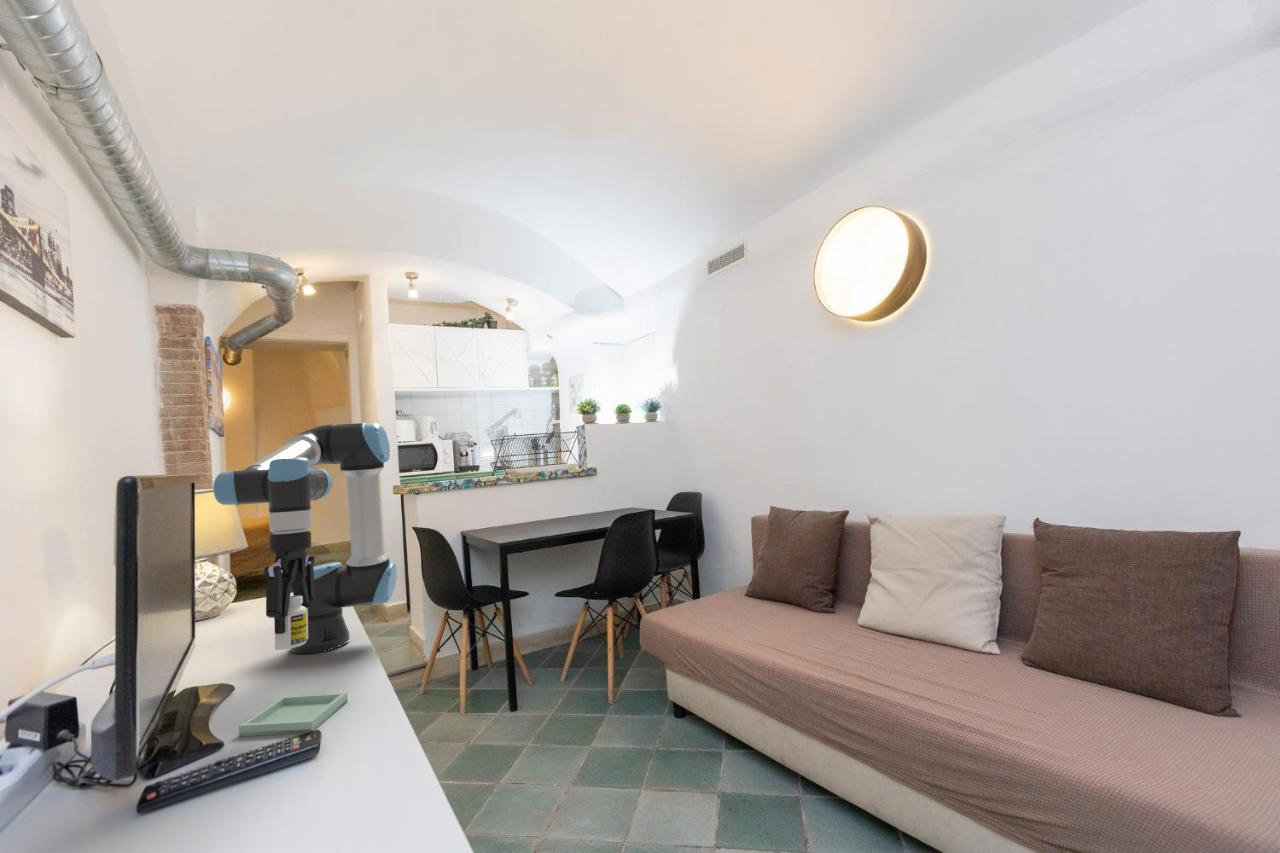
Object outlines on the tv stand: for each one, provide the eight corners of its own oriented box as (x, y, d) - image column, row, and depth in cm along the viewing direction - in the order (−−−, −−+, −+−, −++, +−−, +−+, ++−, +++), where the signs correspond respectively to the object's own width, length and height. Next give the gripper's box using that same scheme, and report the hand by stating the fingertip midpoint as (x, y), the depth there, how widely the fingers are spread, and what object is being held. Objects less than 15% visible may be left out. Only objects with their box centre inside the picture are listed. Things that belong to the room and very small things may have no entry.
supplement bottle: (292, 650, 115) (291, 600, 116) (269, 649, 116) (269, 600, 117) (313, 641, 121) (312, 594, 121) (291, 641, 122) (290, 594, 122)
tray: (283, 705, 125) (282, 696, 125) (347, 701, 125) (347, 692, 125) (239, 736, 111) (238, 725, 111) (311, 732, 111) (311, 721, 111)
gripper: (298, 527, 129) (300, 632, 128) (242, 538, 111) (243, 660, 109) (331, 525, 129) (333, 630, 128) (281, 536, 111) (282, 658, 109)
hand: (292, 643), depth 119 cm, fingers closed on supplement bottle, 5 cm apart
